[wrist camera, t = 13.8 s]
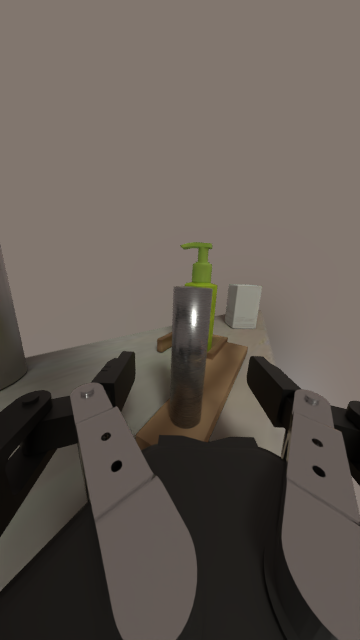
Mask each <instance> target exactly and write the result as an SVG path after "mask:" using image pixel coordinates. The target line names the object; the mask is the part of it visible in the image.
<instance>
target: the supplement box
mask: <svg viewBox="0 0 360 640" xmlns="http://www.w3.org/2000/svg"><path fill="white" fill-rule="evenodd" d="M261 290H262V286H255V285H238V284H237V285H236V284H229V289H228V299H227V307H226V315H225V323H227V324H228V325H229V326H230V327H232V328H240V329H255V327H256V322H257V315H258V309H259V303H260V296H261Z"/></svg>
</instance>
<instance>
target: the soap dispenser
mask: <svg viewBox="0 0 360 640" xmlns="http://www.w3.org/2000/svg"><path fill="white" fill-rule="evenodd" d="M181 247H182V248H183V249H190V248H199V254H198V262H196V263H195V264H193V272H192V282H191V283H186V284H185V286H191V287H206V288H212V289H213V292H212V303H211V314H210V325H209V336H208V347H207V352H208V351H209V350H210V349H211V345H212V335H213V325H214V314H215V303H216V295H217V294H216V293H217V285H215V284H212V283H211V272H212V264H209V262H208V249H212V244H210V243H197V242H194V243H187V244H184V245H181Z"/></svg>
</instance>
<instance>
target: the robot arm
mask: <svg viewBox="0 0 360 640" xmlns="http://www.w3.org/2000/svg"><path fill="white" fill-rule="evenodd" d="M26 371H27V365H26V361H25V357H24V352H23V347H22V342H21V337H20V332H19V328H18V324H17V319H16V315H15V309H14V305H13V300H12V296H11V291H10V286H9V282H8V277H7V273H6V270H5V265H4V260H3V255H2V250H1V246H0V390H1V389H3V388H5V387H7V386H9V385H10V384H12V383H14V382H15V381H17V380H18V379H20V378H21V377H22V376H23V375H24V374H25V373H26ZM134 380H135V353H134V352H127V351H123V352H122V353H121V354H120V356H119V357H118V358H114V359H112V360H110V361H109V362H107V364H106V365H105V366H104V367H103V368H102V370H101V371H100V372H99V373H98V374H97V376H96V377H95V378H94V379H93V380H92V382H91V383H87V384H83V385H81V386H79V387H77V388H76V389H74V390H73V391H72V393H71V395H70V396H66V397H61V398H55V399H52V398H51V393H50V392H49V391H45V390H40V391H34V392H31V393H28V394H25V395H23V396H21V397H19V398H18V399H16V400H15V401H14V402H12V403H11V404H10V405H9V406H7V407H6V408H5V409H4V410H2V411H1V412H0V537H1V535H2V534H3V532H4V531H5V529H6V527H7V526H8V524H9V523H10V521H11V520H12V518H13V517H14V515H15V513H16V512H17V510H18V509H19V507H20V506H21V504H22V503H23V501H24V499H25V498H26V496H27V495H28V493H29V492H30V490H31V489H32V487H33V485H34V484H35V482H36V481H37V479H38V478H39V476H40V475H41V473H42V471H43V470H44V468H45V467H46V465H47V464H48V462H49V461H50V459H51V458H52V456H53V454H54V453H55V451H56V450H57V448H61V447H65V446H68V445H72V444H76V443H77V446H78V451H79V457H80V463H81V468H82V474H83V480H84V485H85V492H86V498H87V503H86V504H85V505H84V506H83V507H82V508H81V509H80V510H79V511H78V512H77V513H76V514H75V515H74V517H73V518H72V519H71V520H70V521H69V522H68V523H67V524H66V525H65V526H64V527H63V528H62V529H61V530H60V531H59V532H58V533H57V534H56V535H55V536H54V537H53V538H52V539H51V540H50V541H49V542H48V543H47V544H46V545H45V546H44V547H43V548H42V549H41V550H40V551H39V552H38V553H37V554H36V555H35V556H34V557H33V559H32V560H31V561H30V562H29V563H28V564H27V565H26V566H25V567H24V568H23V569H22V570H21V571H20V572H19V573H18V574H17V575H16V576H15V577H14V578H13V579H12V580H11V581H10V582H9V583H8V584H7V585H6V586H5V587H4V588H3V589H2V590H1V591H0V640H360V515H359V510H358V505H357V501H356V496H355V492H354V487H353V482H352V477H353V478H354V479H355V481H356V482H357V483H358V484H359V485H360V402H359V401H350V402H349V404H348V407H347V409H344V408H339V407H335V406H331V405H330V403H329V402H328V401H327V400H326V399H325V398H323V397H322V396H320V395H319V394H317V393H314V392H312V391H308V390H303V389H301V388H300V387H299V386H297V385H296V384H295V383H294V382H293V381H292V380H291V379H290V378H288V376H287V375H286V374H284V373H283V372H282V371H281V370H280V369H279V368H278V367H276V366H274V365H272V364H270V363H269V362H268V361H267V360H266V359H265V358H264V357H261V356H251V357H250V360H249V366H248V372H247V383H248V386H249V387H250V389H251V391H252V392H253V394H254V395H255V397H256V399H257V400H258V402H259V403H260V405H261V407H262V408H263V410H264V411H265V413H266V415H267V416H268V418H269V419H270V421H271V423H272V424H273V426H274V427H283V428H285V429H286V430H285V434H284V439H283V445H282V451H281V457H279V456H278V455H276V454H274V453H272V452H270V451H268V450H266V449H263V448H261V447H258V445H257V443H256V441H255V439H254V438H252V437H228V438H224V439H220V440H216V441H212V442H204V441H201V440H197V439H193V438H190V437H186V436H182V435H159V438H158V444H154V445H151V446H148V447H146V448H144V449H142V450H140V448H139V446H138V444H137V442H136V441H135V439H134V437H133V435H132V433H131V431H130V429H129V427H128V425H127V423H126V421H125V420H124V418H123V416H122V414H121V411H122V408H123V406H124V404H125V401H126V399H127V397H128V394H129V392H130V390H131V387H132V385H133V383H134ZM19 445H20V447H19V448H18V449H17V450H16V452H15V453H14V454H13V455H12V456H11V457H10V455H11V454H12V453H13V451H14V450H15V449H16V448H17V447H18V446H19ZM9 457H10V458H9ZM8 458H9V460H8ZM351 476H352V477H351Z"/></svg>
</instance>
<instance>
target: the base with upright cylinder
mask: <svg viewBox="0 0 360 640" xmlns="http://www.w3.org/2000/svg"><path fill="white" fill-rule="evenodd" d="M212 292H213V289H212V288H206V287H191V286H176V287H174V293H173V294H174V295H173V325H172V332H171V333H169V334H167V335H165V336H163V337H161V338H159V339H157V351H158V352H163V351H165V350H166V349H168V348H170V347H171V346H172V355H171V386H170V398H169V399H168V401H167V402H166V403H165V404H164V405H163V406H162V407H161V408H160V409H159V410H158V411H157V412H156V413H155V415H154V416H153V417H152V418H151V419H150V420H149V421H148V422H147V423H146V424H145V425H144V426H143V428H142V429H141V430H140V431H139V432H138V433H137V434H136V442H137V444H138V446H139V448H140V450H142V449H144V448H146V447H148V446H151V445H154V444H158V438H159V435H182V436H186V437H190V438H193V439H197V440H201V441H204V442H208V441H209V438H210V436H211V434H212V432H213V429H214V427H215V425H216V422H217V420H218V418H219V416H220V413H221V411H222V409H223V407H224V404H225V402H226V400H227V397H228V395H229V393H230V391H231V388H232V386H233V384H234V381H235V379H236V377H237V375H238V372H239V370H240V368H241V366H242V363H243V361H244V359H245V356H246V354H247V348H248V347H246V346H241V345H237V344H233V343H228V342H227V339H228V338H227V337H222V336H218V335H212V345H211V347H212V348H211V349H210V350H209V351H208V352H207V347H208V336H209V325H210V314H211V303H212ZM206 357H207V358H206Z"/></svg>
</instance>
